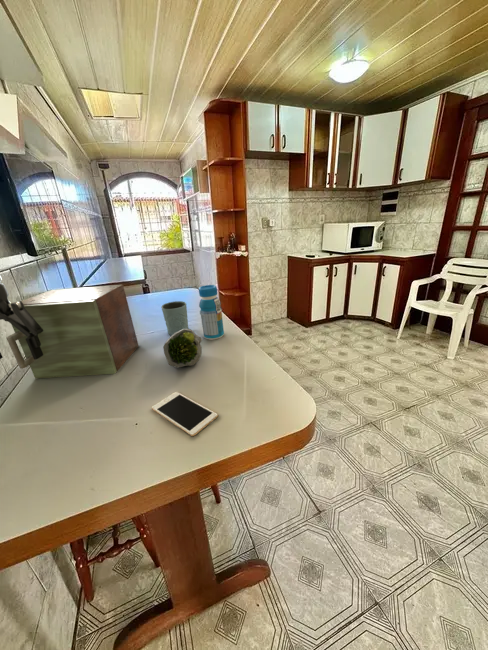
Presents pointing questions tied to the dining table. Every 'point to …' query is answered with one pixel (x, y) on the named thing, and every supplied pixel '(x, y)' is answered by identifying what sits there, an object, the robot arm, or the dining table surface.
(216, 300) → the beverage bottle
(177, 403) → the cell phone
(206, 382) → the dining table surface
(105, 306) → the cupboard
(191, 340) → the potted plant
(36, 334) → the robot arm
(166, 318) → the grey green cup
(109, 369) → the cupboard door
